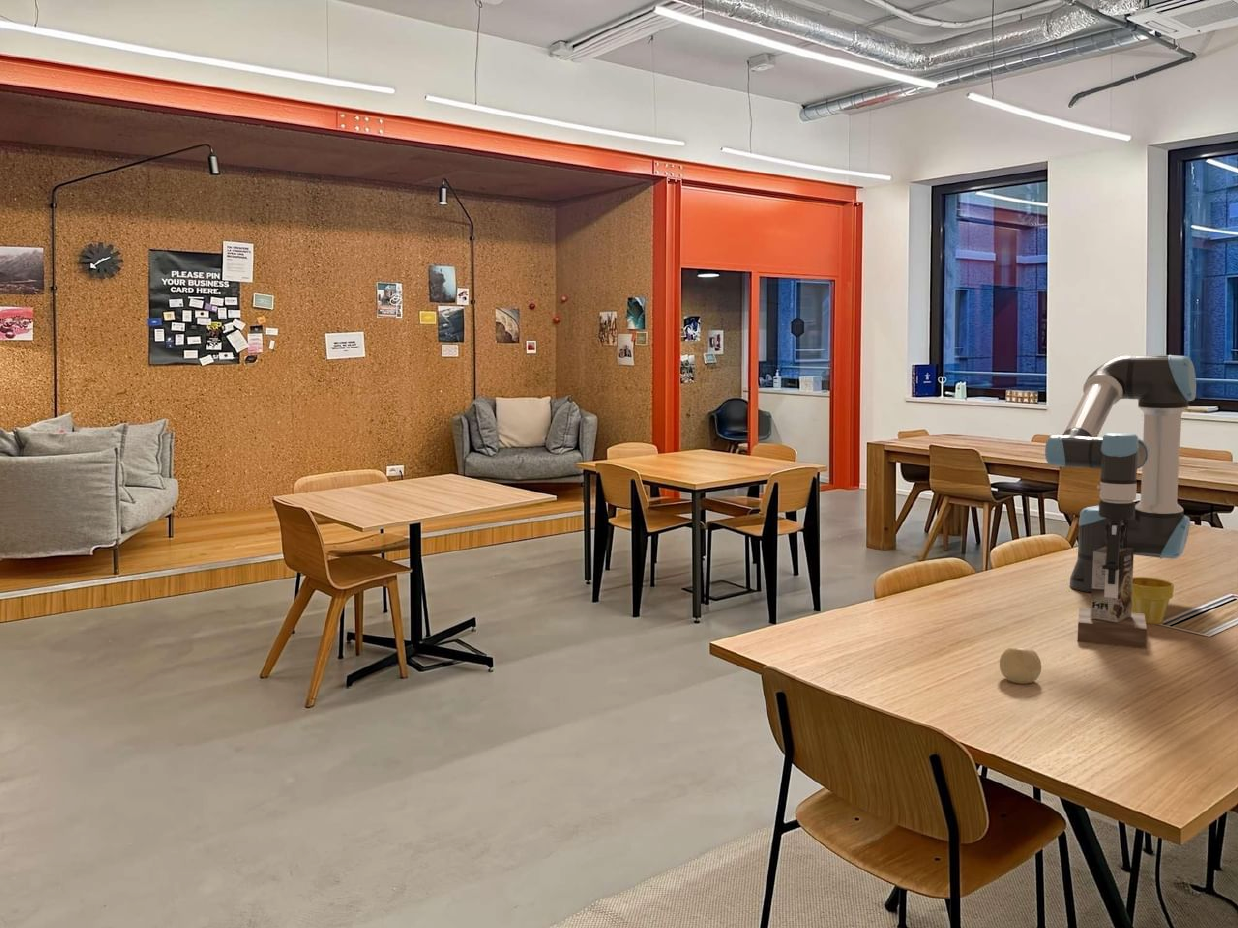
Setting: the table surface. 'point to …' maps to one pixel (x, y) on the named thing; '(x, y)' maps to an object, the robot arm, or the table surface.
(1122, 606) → the coffee box
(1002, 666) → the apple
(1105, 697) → the table surface
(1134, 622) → the walnut block
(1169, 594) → the plant pot
